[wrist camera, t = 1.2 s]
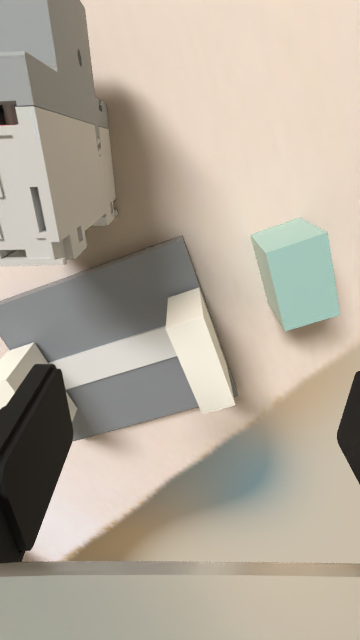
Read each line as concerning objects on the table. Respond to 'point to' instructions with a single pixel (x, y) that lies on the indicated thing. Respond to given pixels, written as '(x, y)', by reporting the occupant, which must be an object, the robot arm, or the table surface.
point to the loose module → (297, 272)
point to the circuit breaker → (50, 135)
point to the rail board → (120, 341)
